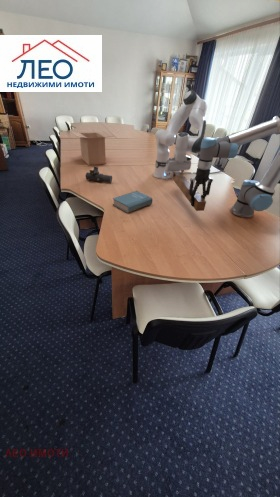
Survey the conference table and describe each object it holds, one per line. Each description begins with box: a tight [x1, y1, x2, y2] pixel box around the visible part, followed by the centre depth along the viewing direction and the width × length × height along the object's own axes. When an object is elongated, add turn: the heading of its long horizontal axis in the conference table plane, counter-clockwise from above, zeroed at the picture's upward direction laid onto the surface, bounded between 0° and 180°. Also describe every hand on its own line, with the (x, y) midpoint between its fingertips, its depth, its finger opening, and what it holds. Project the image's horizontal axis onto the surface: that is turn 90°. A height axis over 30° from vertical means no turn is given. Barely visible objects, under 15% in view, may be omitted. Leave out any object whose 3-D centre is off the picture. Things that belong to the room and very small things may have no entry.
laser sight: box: [85, 166, 113, 184], centre depth 187 cm, size 10×22×10 cm, turn 78°
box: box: [70, 129, 114, 166], centre depth 229 cm, size 44×36×27 cm
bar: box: [170, 171, 207, 212], centre depth 154 cm, size 56×5×6 cm, turn 10°
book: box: [112, 190, 153, 214], centre depth 155 cm, size 23×16×5 cm
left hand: (176, 176), depth 171 cm, fingers closed on bar, 5 cm apart
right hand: (196, 205), depth 140 cm, fingers closed on bar, 5 cm apart
